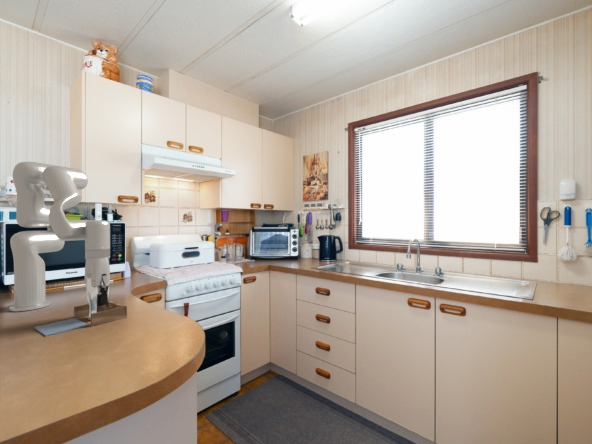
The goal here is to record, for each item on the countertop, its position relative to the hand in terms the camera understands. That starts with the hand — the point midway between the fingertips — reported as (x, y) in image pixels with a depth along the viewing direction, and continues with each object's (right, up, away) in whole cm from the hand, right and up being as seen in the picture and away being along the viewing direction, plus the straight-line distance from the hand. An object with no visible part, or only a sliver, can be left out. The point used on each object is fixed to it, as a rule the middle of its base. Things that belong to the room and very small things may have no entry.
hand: (98, 303), depth 105 cm
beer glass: (0, -5, 0) cm, 5 cm away
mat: (-6, -5, -9) cm, 12 cm away
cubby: (0, -5, 0) cm, 5 cm away
